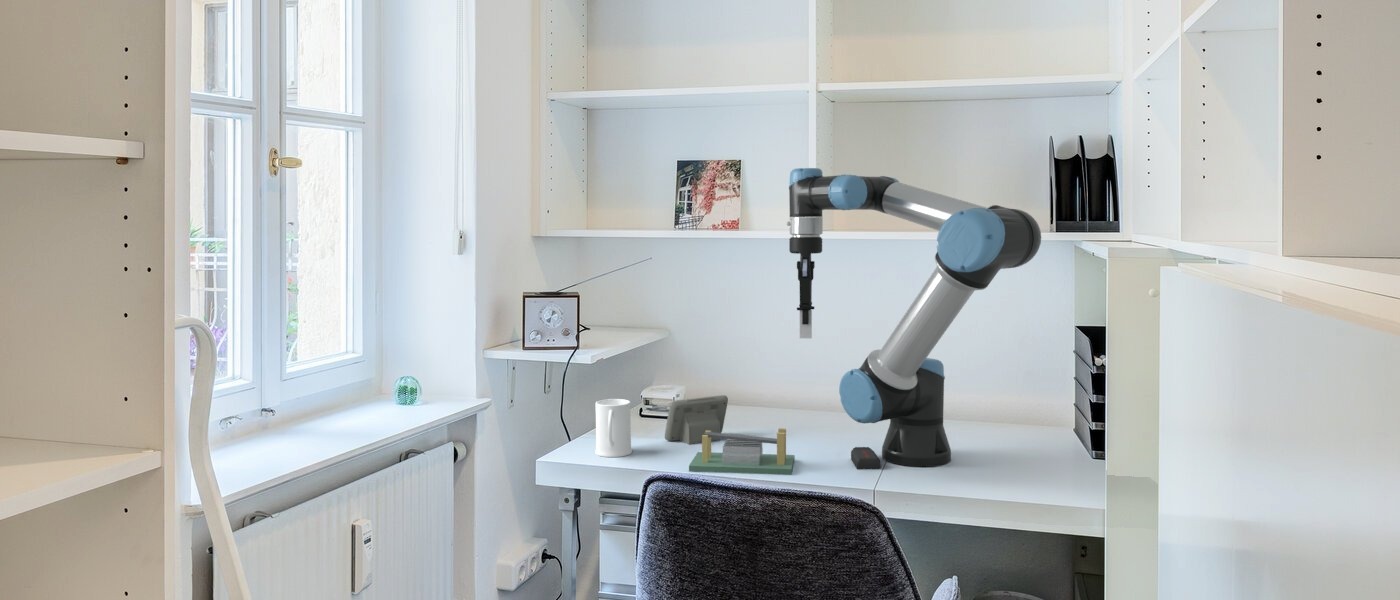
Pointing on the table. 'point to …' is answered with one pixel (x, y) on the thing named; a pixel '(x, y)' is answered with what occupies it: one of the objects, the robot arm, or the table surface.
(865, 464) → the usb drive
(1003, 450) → the table surface
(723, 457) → the heatsink
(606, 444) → the mug
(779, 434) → the board
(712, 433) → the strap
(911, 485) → the table surface
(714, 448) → the table surface
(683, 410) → the digital clock
